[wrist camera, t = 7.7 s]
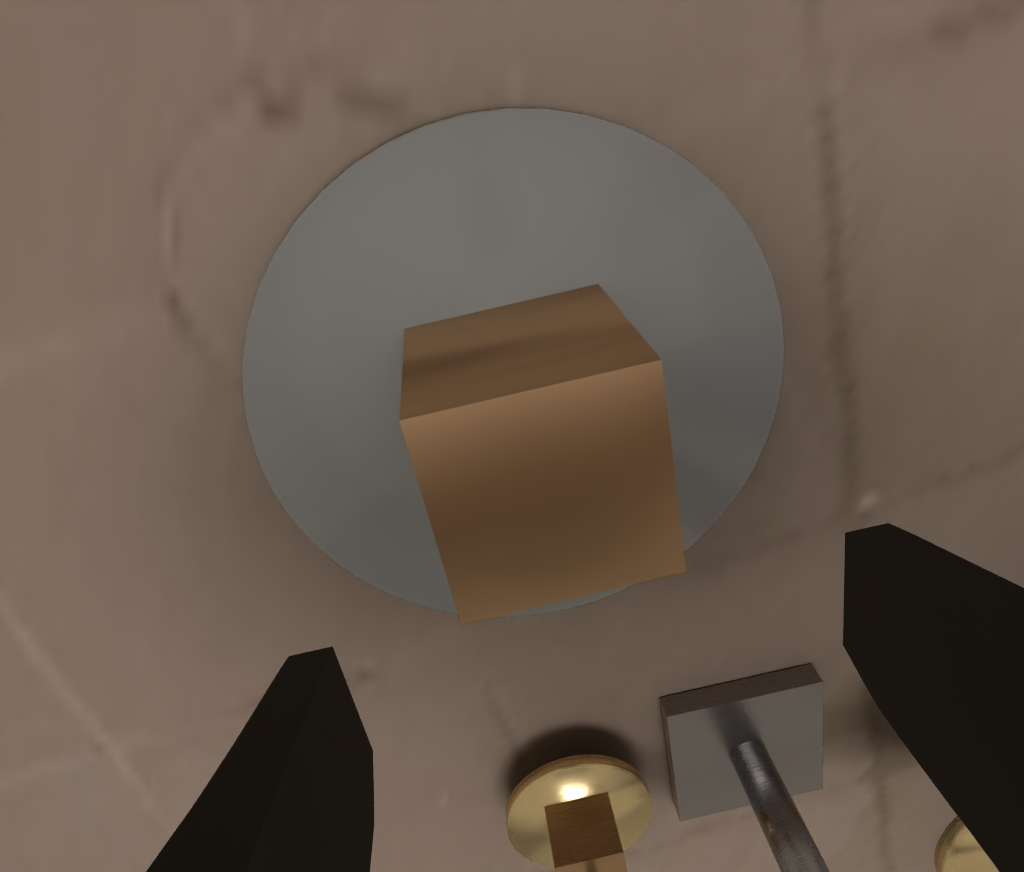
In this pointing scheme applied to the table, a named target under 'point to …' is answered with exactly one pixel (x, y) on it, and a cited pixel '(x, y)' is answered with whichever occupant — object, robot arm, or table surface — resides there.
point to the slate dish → (489, 284)
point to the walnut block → (541, 452)
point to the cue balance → (702, 781)
